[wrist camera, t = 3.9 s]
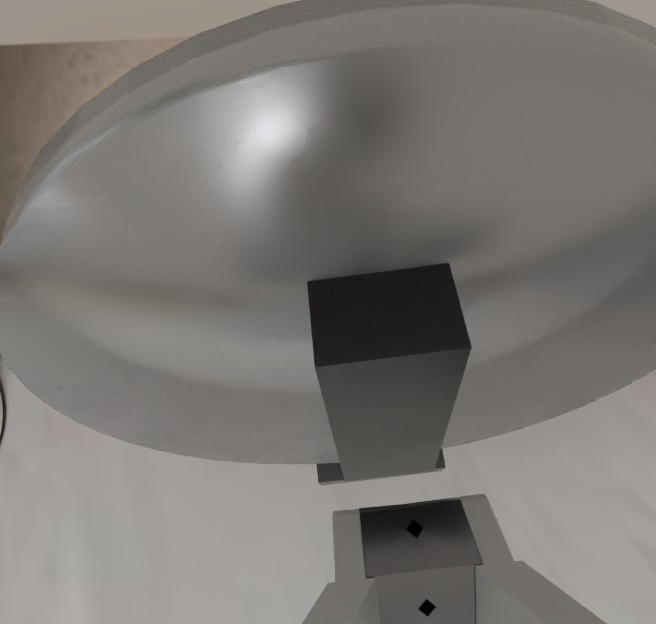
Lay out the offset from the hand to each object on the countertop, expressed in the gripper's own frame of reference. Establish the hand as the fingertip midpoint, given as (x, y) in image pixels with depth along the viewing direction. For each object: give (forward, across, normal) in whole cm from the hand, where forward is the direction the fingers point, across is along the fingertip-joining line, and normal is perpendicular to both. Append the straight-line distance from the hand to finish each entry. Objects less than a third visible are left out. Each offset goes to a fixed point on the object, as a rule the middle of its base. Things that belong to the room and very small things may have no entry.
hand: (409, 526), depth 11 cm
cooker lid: (+6, 0, -2) cm, 7 cm away
